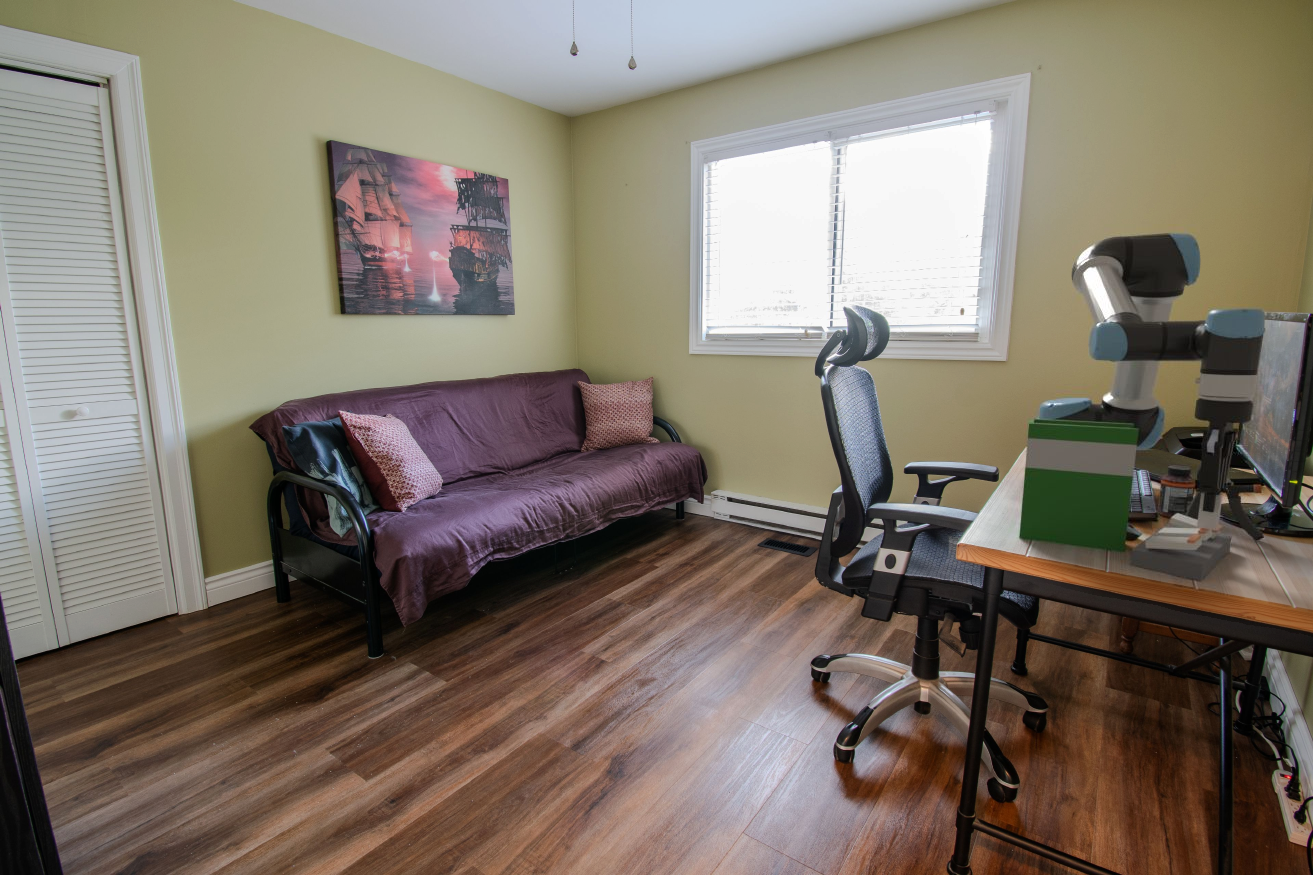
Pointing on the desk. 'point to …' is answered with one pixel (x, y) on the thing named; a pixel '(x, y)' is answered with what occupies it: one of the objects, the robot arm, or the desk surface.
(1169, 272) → the robot arm
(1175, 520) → the rocker
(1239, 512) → the hand grip strengthener
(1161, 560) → the rocker switch box
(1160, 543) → the rocker
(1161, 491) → the supplement bottle
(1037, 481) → the hardback book
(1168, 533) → the middle rocker
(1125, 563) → the desk surface
